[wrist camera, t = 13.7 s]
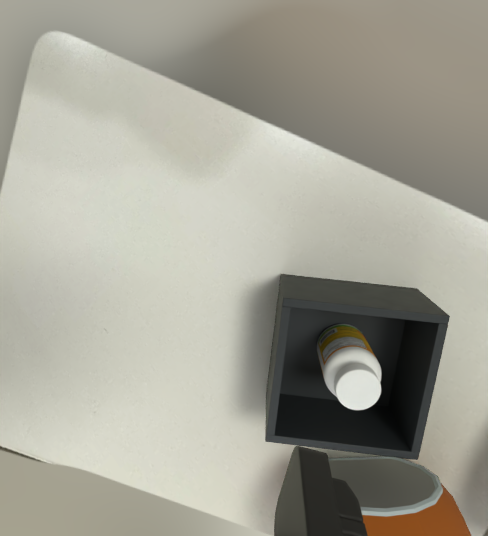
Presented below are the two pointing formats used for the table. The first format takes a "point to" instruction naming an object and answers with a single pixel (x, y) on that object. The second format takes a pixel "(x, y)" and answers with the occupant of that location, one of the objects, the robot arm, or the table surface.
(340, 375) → the supplement bottle
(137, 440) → the table surface
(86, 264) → the table surface
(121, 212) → the table surface
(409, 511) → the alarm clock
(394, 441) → the bin
